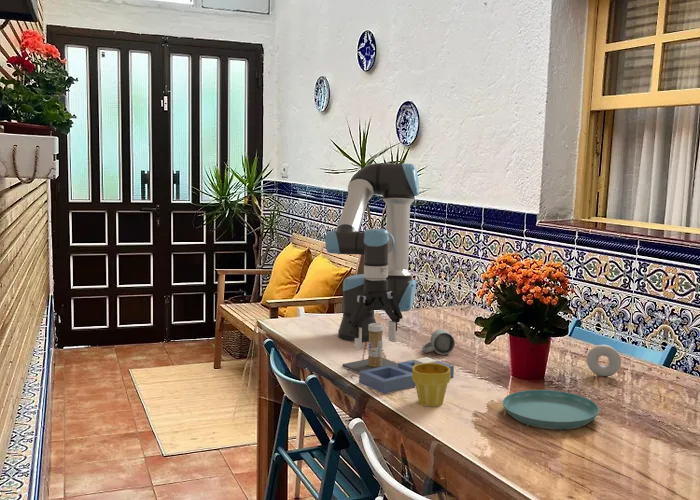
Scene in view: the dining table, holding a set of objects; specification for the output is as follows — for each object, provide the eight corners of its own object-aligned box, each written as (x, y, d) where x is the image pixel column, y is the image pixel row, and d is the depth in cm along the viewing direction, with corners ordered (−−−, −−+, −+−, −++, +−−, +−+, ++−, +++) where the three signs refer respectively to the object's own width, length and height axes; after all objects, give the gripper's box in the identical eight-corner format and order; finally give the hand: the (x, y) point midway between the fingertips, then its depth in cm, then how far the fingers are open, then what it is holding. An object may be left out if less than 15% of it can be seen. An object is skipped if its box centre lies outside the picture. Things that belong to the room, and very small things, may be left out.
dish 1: (359, 382, 211) (359, 371, 211) (390, 375, 218) (390, 364, 218) (384, 393, 201) (384, 381, 201) (416, 386, 208) (416, 374, 208)
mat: (342, 366, 228) (342, 364, 227) (379, 358, 236) (379, 356, 236) (370, 378, 215) (370, 375, 215) (408, 369, 224) (408, 367, 224)
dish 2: (398, 374, 220) (398, 363, 219) (427, 367, 227) (427, 356, 226) (423, 384, 210) (424, 372, 210) (453, 377, 217) (453, 365, 217)
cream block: (414, 375, 219) (414, 359, 218) (426, 372, 222) (426, 357, 221) (424, 379, 215) (425, 363, 214) (437, 376, 218) (437, 360, 217)
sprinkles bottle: (365, 365, 226) (365, 324, 224) (373, 362, 229) (374, 321, 227) (376, 368, 223) (376, 326, 221) (385, 365, 226) (385, 324, 224)
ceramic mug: (449, 348, 250) (449, 326, 249) (455, 354, 242) (455, 332, 241) (420, 349, 249) (420, 327, 248) (424, 355, 241) (424, 333, 240)
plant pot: (425, 411, 187) (425, 375, 186) (404, 399, 197) (405, 365, 195) (457, 405, 192) (458, 370, 191) (435, 394, 201) (436, 360, 200)
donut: (620, 377, 217) (622, 345, 216) (619, 380, 214) (621, 348, 213) (586, 372, 222) (588, 341, 220) (585, 375, 218) (586, 344, 217)
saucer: (552, 395, 201) (552, 384, 201) (619, 424, 180) (620, 411, 180) (483, 409, 190) (483, 397, 190) (546, 441, 169) (547, 427, 169)
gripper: (350, 284, 212) (350, 353, 215) (414, 276, 226) (413, 341, 229) (336, 280, 218) (336, 347, 221) (399, 273, 232) (398, 336, 235)
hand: (375, 344), depth 225 cm, fingers open, 13 cm apart
